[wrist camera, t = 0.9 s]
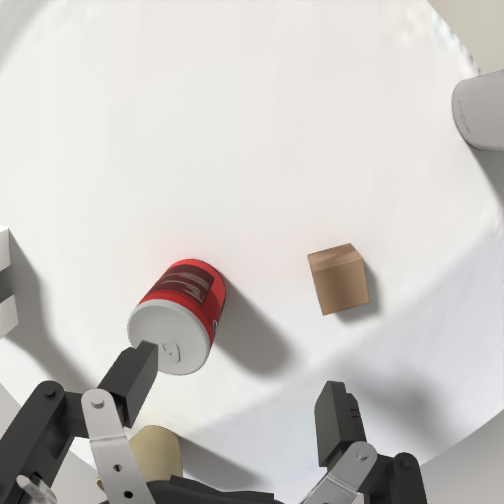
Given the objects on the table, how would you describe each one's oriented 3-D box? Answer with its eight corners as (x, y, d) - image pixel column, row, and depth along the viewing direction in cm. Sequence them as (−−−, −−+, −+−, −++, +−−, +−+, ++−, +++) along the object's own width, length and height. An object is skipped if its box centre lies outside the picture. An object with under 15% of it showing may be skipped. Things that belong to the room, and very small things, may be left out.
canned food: (187, 325, 36) (160, 383, 25) (152, 273, 34) (110, 320, 23) (239, 303, 34) (226, 363, 24) (205, 245, 32) (174, 288, 22)
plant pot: (178, 412, 42) (153, 489, 27) (209, 456, 46) (195, 522, 31) (111, 409, 44) (78, 471, 29) (146, 452, 48) (125, 509, 33)
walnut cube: (349, 242, 31) (362, 258, 26) (357, 282, 32) (369, 302, 28) (307, 254, 32) (312, 272, 27) (316, 293, 33) (322, 315, 29)
